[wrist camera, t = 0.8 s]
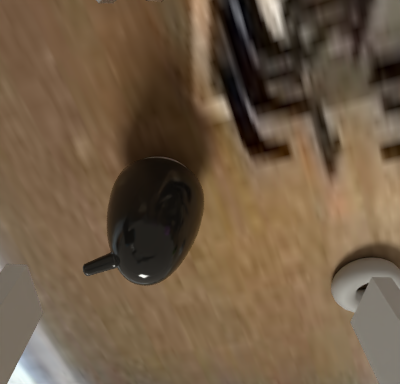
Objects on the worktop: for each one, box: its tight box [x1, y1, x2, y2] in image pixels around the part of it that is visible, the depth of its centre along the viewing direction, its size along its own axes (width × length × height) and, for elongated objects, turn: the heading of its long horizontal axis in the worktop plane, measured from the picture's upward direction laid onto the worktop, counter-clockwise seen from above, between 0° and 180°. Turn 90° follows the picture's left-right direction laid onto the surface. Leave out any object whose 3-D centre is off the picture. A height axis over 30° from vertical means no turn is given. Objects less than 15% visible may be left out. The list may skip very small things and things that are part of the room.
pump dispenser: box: [83, 157, 204, 286], centre depth 31 cm, size 10×10×15 cm
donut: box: [331, 257, 400, 312], centre depth 45 cm, size 10×4×10 cm
